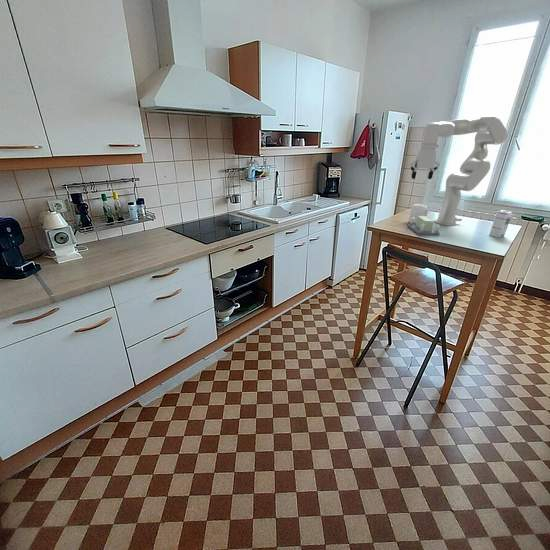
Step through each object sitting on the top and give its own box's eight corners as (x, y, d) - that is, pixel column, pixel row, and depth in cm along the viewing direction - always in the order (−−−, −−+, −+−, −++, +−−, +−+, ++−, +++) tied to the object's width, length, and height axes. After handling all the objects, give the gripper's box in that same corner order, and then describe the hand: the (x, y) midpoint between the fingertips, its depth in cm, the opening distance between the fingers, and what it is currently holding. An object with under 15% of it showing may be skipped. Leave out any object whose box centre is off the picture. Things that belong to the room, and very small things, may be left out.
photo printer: (407, 222, 195) (411, 203, 189) (410, 221, 197) (414, 202, 192) (422, 225, 188) (427, 206, 182) (425, 224, 190) (430, 205, 185)
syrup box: (499, 237, 169) (508, 212, 162) (488, 234, 173) (497, 210, 167) (504, 236, 172) (513, 211, 165) (493, 233, 176) (501, 209, 170)
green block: (423, 225, 181) (426, 216, 179) (431, 231, 171) (434, 221, 169) (415, 225, 181) (417, 216, 179) (423, 231, 172) (425, 221, 169)
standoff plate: (426, 227, 185) (429, 217, 182) (439, 235, 169) (442, 225, 167) (407, 226, 185) (409, 217, 182) (418, 234, 170) (421, 224, 167)
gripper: (440, 147, 169) (432, 178, 177) (410, 146, 169) (404, 177, 177) (447, 147, 163) (439, 179, 170) (416, 147, 162) (409, 179, 170)
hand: (421, 178), depth 173 cm, fingers open, 9 cm apart
